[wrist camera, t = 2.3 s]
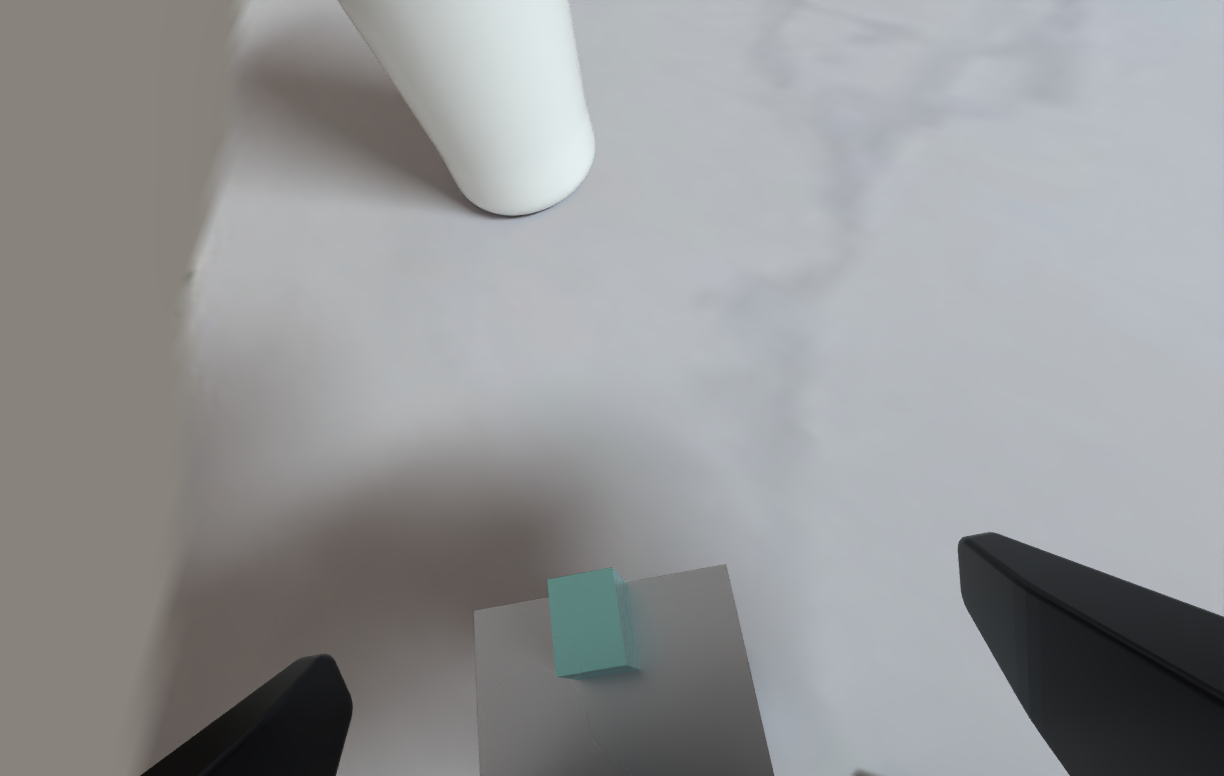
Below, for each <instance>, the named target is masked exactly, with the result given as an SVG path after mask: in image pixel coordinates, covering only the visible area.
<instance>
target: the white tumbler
mask: <svg viewBox="0 0 1224 776" xmlns="http://www.w3.org/2000/svg"><path fill="white" fill-rule="evenodd" d="M337 1H338V3H339V4H340V6H341V7H342V9H343V10H344V11H345V13H346V14H347V16H348V17H349V19H350V20H351V22H352V23H353V25H354V26H355V28H356V29H357V31H358V32H359V34H360V35H361V37H362V38H363V40H364V41H365V43H366V44H367V45H368V47H369V48H370V50H371V51H372V53H373V54H374V56H375V57H376V59H377V60H378V62H379V63H380V65H381V66H382V68H383V69H384V71H385V72H386V74H387V75H388V77H389V78H390V80H391V81H392V83H393V84H394V86H395V87H396V89H397V90H398V92H399V93H400V95H401V96H402V98H403V99H404V101H405V102H406V104H407V105H408V107H409V108H410V110H411V111H412V113H413V114H414V116H415V117H416V119H417V120H418V122H419V123H420V125H421V126H422V128H423V129H424V131H425V132H426V134H427V135H428V137H429V138H430V140H431V141H432V143H433V144H434V146H435V147H436V149H437V151H438V152H439V154H440V155H441V157H442V159H443V161H444V162H445V164H446V166H447V168H448V170H449V172H450V173H451V175H452V177H453V179H454V181H455V182H456V184H457V186H458V188H459V189H460V190H461V192H462V193H463V194H464V196H465V197H466V198H467V199H468V200H469V201H471V202H472V203H473V204H475V205H476V206H478V207H479V208H481V209H483V210H486V211H488V212H491V213H495V214H500V215H511V216H512V215H525V214H531V213H535V212H538V211H541V210H544V209H547V208H549V207H551V206H553V205H555V204H557V203H559V202H560V201H562V200H564V199H565V198H566V197H568V196H569V195H570V194H571V193H573V192H574V191H575V190H576V189H577V188H578V187H579V185H580V184H581V183H582V182H583V180H584V179H585V178H586V176H587V174H588V172H589V170H590V168H591V166H592V163H593V160H594V155H595V135H594V130H593V126H592V122H591V118H590V114H589V110H588V106H587V102H586V98H585V92H584V86H583V80H582V74H581V68H580V62H579V56H578V50H577V43H576V37H575V31H574V25H573V18H572V12H571V6H570V0H337Z"/></svg>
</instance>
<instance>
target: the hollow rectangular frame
mask: <svg viewBox="0 0 1224 776" xmlns="http://www.w3.org/2000/svg"><path fill="white" fill-rule="evenodd" d="M547 584H548V595H549V597H545V598H540V599H535V600H529V601H524V602H518V603H513V604H508V605H502V606H497V607H491V608H486V609H480V610H475V611H474V633H475V659H476V685H477V711H478V737H479V764H480V776H774V773H773V768H772V764H771V760H770V755H769V751H768V746H767V742H766V738H765V733H764V729H763V724H762V720H761V716H760V711H759V707H758V703H757V698H756V694H755V689H754V685H753V681H752V676H751V672H750V667H749V663H748V659H747V654H746V650H745V645H744V641H743V637H742V632H741V628H740V623H739V619H738V615H737V610H736V606H735V601H734V597H733V593H732V588H731V584H730V579H729V575H728V571H727V566H726V564H724V565H718V566H713V567H708V568H702V569H697V570H691V571H686V572H681V573H675V574H670V575H664V576H659V577H654V578H648V579H643V580H637V581H632V582H626V581H625V580H624V579H623V578H622V577H621V576H620V575H619V574H618V573H617V572H616V571H615V569H614V568H613V567H611V568H606V569H601V570H595V571H590V572H585V573H579V574H574V575H569V576H563V577H558V578H553V579H547Z"/></svg>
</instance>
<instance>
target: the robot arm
mask: <svg viewBox="0 0 1224 776" xmlns="http://www.w3.org/2000/svg"><path fill="white" fill-rule="evenodd" d="M958 560H959V573H960V586H961V594H962V598H963V601H964V604H965V606H966V608H967V610H968V612H969V614H970V615H971V617H972V619H973V621H974V623H975V624H976V626H977V628H978V630H979V631H980V633H981V635H982V637H983V638H984V640H985V642H986V644H987V645H988V647H989V649H990V651H991V652H992V654H993V656H994V658H995V659H996V661H997V663H998V665H999V666H1000V668H1001V670H1002V672H1003V673H1004V675H1005V677H1006V679H1007V680H1008V682H1009V684H1010V686H1011V687H1012V689H1013V691H1014V693H1015V694H1016V696H1017V698H1018V700H1019V701H1020V703H1021V705H1022V706H1023V708H1024V710H1025V711H1026V713H1027V715H1028V716H1029V718H1030V719H1031V721H1032V722H1033V724H1034V725H1035V727H1036V728H1037V730H1038V731H1039V733H1040V734H1041V736H1042V737H1043V739H1044V740H1045V741H1046V743H1047V744H1048V746H1049V747H1050V748H1051V750H1052V751H1053V753H1054V754H1055V755H1056V757H1057V758H1058V760H1059V761H1060V762H1061V764H1062V765H1063V767H1064V768H1065V769H1066V771H1067V772H1068V774H1069V775H1070V776H1224V617H1223V616H1220V615H1218V614H1215V613H1212V612H1210V611H1207V610H1204V609H1201V608H1199V607H1196V606H1193V605H1190V604H1188V603H1185V602H1182V601H1180V600H1177V599H1174V598H1171V597H1169V596H1166V595H1163V594H1161V593H1158V592H1155V591H1152V590H1150V589H1147V588H1144V587H1141V586H1139V585H1136V584H1133V583H1131V582H1128V581H1125V580H1122V579H1120V578H1117V577H1114V576H1112V575H1109V574H1106V573H1103V572H1101V571H1098V570H1095V569H1092V568H1090V567H1087V566H1084V565H1082V564H1079V563H1076V562H1073V561H1071V560H1068V559H1065V558H1063V557H1060V556H1057V555H1054V554H1052V553H1049V552H1046V551H1043V550H1041V549H1038V548H1035V547H1033V546H1030V545H1027V544H1024V543H1022V542H1019V541H1016V540H1014V539H1011V538H1008V537H1005V536H1003V535H1000V534H997V533H994V532H987V533H982V534H977V535H971V536H966V537H962V539H961V540H960V541H959V544H958ZM352 710H353V706H352V699H351V695H350V693H349V691H348V689H347V686H346V684H345V682H344V680H343V677H342V675H341V673H340V671H339V669H338V666H337V664H336V662H335V660H334V659H333V658H332V657H331V656H330V655H328V654H320V655H314V656H308V657H303V658H300V659H298V660H296V661H295V662H294V663H292V664H291V665H290V666H288V667H287V668H286V669H284V670H283V671H281V672H280V673H279V674H277V675H276V676H275V677H273V678H272V679H271V680H269V681H268V682H267V683H265V684H264V685H262V686H261V687H260V688H258V689H257V690H256V691H254V692H253V693H252V694H250V695H249V696H248V697H246V698H245V699H244V700H242V701H241V702H239V703H238V704H237V705H235V706H234V707H233V708H231V709H230V710H229V711H227V712H226V713H225V714H223V715H222V716H220V717H219V718H218V719H216V720H215V721H214V722H212V723H211V724H210V725H208V726H207V727H206V728H204V729H203V730H202V731H200V732H199V733H197V734H196V735H195V736H193V737H192V738H191V739H189V740H188V741H187V742H185V743H184V744H183V745H181V746H180V747H178V748H177V749H176V750H174V751H173V752H172V753H170V754H169V755H168V756H166V757H165V758H164V759H162V760H161V761H160V762H158V763H157V764H155V765H154V766H153V767H151V768H150V769H149V770H147V771H146V772H145V773H143V774H142V775H141V776H336V773H337V770H338V766H339V762H340V758H341V755H342V751H343V747H344V743H345V740H346V736H347V732H348V729H349V725H350V721H351V717H352Z"/></svg>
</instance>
